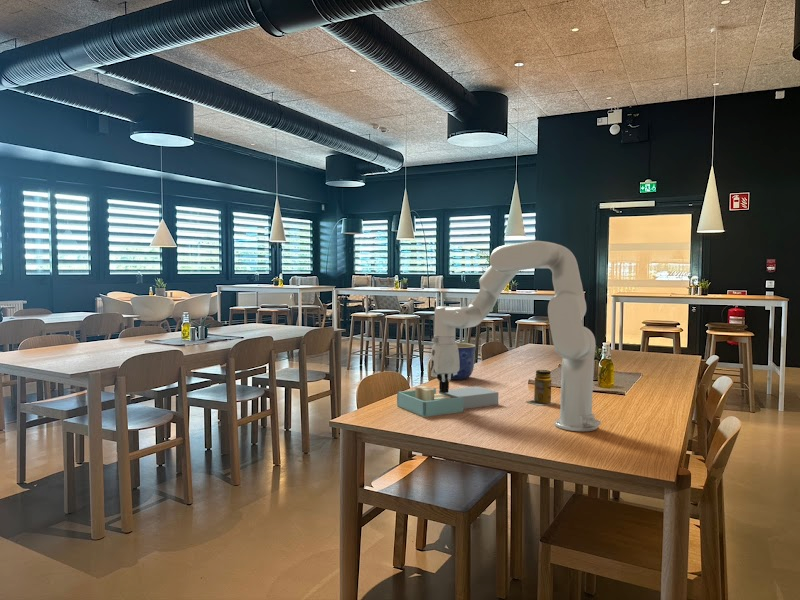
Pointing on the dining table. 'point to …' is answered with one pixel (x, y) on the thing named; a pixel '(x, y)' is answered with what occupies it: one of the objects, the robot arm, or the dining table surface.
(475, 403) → the grey rectangular block
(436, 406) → the tray
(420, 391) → the tile
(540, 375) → the condiment
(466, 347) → the planter
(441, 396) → the tile
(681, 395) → the dining table surface
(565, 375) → the robot arm
